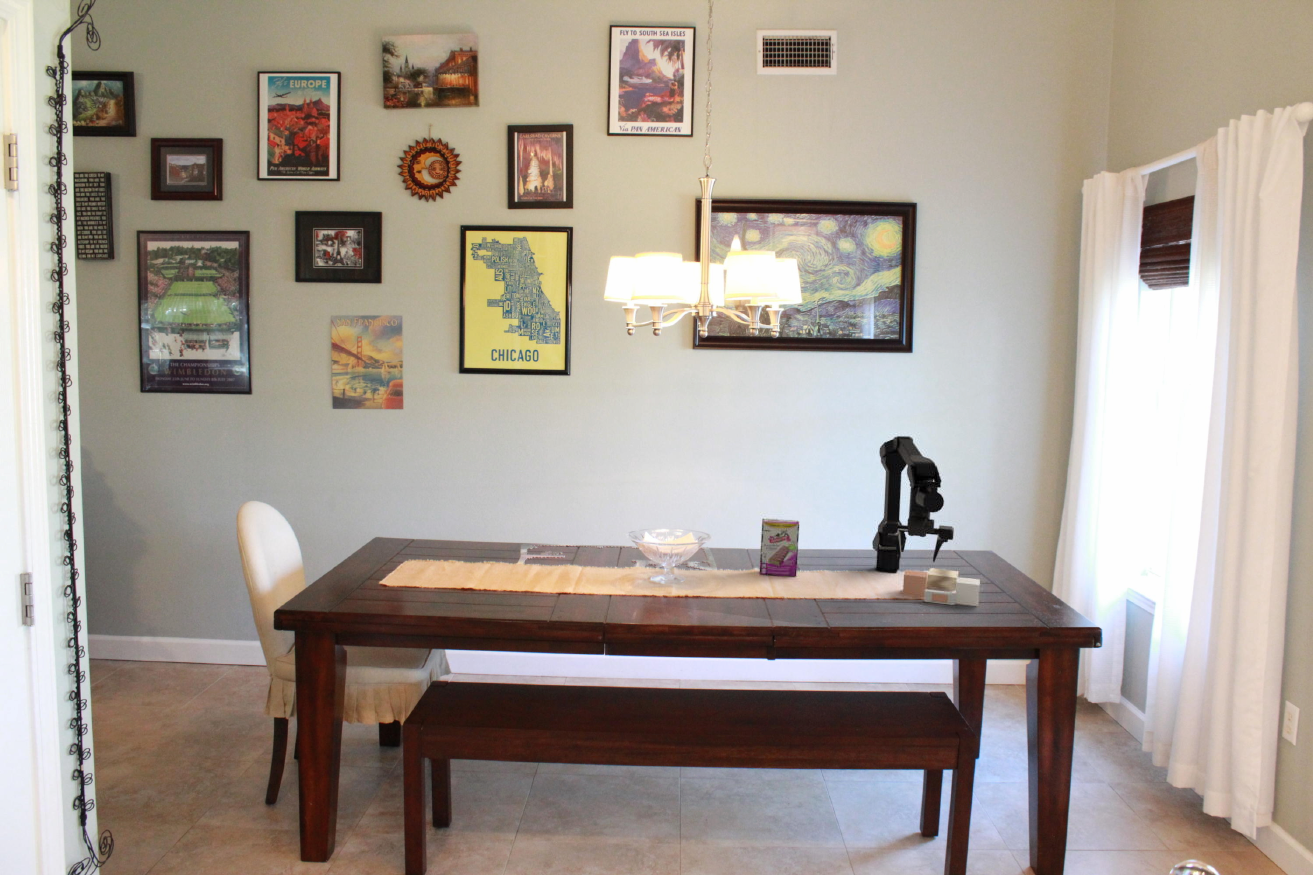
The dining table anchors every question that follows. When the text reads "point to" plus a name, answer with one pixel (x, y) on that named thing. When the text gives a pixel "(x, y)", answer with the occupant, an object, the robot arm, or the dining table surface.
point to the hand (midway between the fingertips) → (916, 559)
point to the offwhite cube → (967, 591)
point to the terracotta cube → (914, 583)
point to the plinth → (939, 597)
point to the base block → (942, 579)
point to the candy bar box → (779, 547)
